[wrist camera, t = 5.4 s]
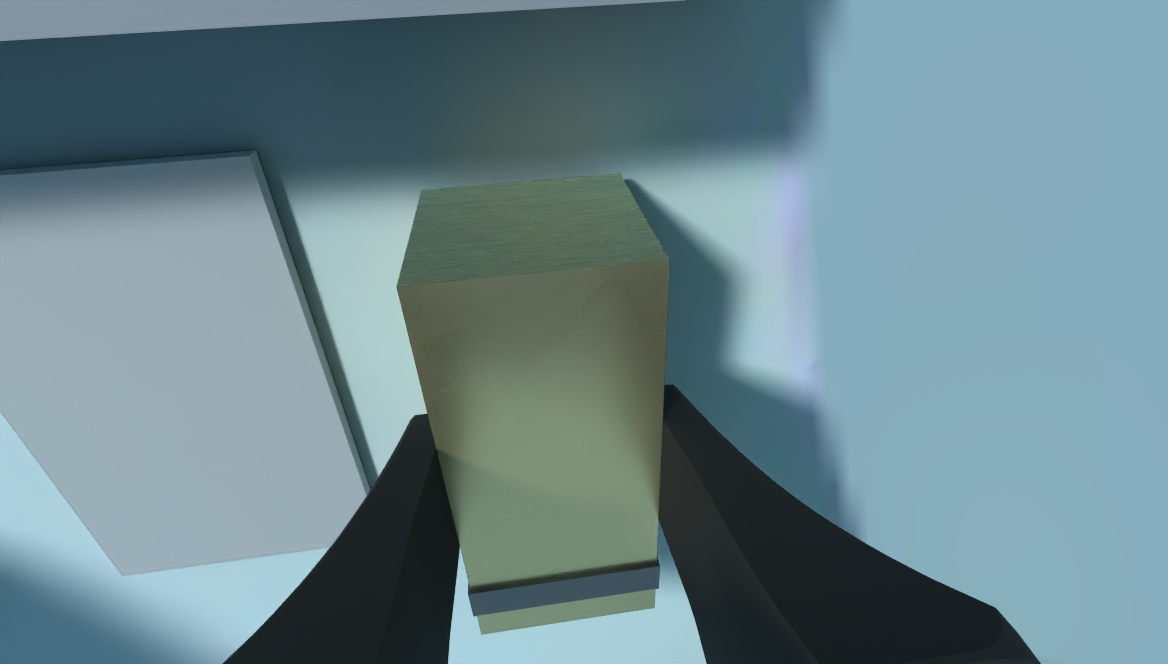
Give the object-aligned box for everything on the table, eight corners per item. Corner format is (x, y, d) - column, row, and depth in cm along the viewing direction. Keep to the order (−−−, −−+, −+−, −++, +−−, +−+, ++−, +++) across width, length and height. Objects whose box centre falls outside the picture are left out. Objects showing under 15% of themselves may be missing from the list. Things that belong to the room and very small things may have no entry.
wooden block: (623, 479, 17) (657, 611, 14) (480, 497, 17) (479, 639, 13) (622, 173, 12) (674, 262, 9) (419, 190, 12) (392, 290, 8)
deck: (384, 528, 17) (381, 540, 17) (129, 563, 17) (122, 575, 16) (255, 150, 11) (248, 155, 11) (-146, 181, 11) (-166, 188, 10)
